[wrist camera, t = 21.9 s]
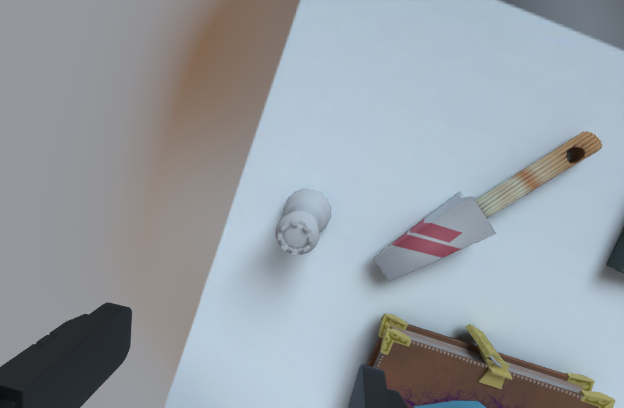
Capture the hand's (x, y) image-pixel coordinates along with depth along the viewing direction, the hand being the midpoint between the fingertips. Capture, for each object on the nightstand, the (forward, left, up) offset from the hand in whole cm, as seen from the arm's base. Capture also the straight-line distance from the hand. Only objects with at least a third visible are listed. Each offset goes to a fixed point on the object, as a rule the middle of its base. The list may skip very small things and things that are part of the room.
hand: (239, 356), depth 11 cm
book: (+16, +21, -20) cm, 33 cm away
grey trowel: (-4, +15, -20) cm, 25 cm away
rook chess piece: (0, 0, -20) cm, 20 cm away
